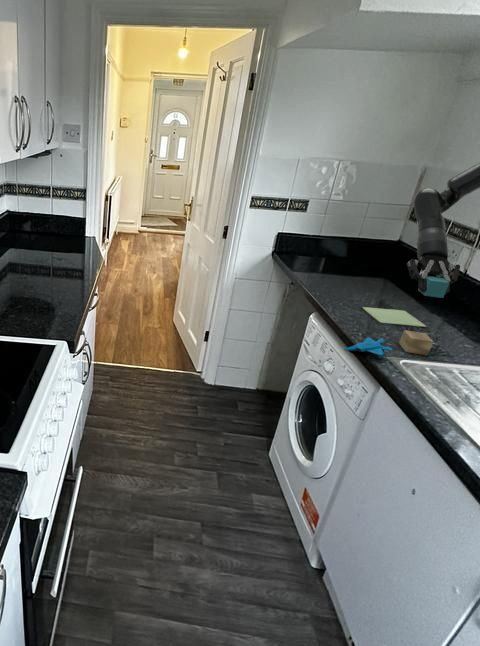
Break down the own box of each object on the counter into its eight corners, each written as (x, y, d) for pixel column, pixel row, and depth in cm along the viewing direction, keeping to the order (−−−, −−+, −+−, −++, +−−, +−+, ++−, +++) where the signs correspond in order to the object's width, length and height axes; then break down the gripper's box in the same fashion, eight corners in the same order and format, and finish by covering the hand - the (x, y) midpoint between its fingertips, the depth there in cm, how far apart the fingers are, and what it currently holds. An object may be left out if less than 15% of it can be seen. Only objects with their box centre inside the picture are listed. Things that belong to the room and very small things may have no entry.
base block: (419, 346, 135) (425, 333, 133) (427, 355, 130) (433, 341, 128) (398, 343, 136) (404, 329, 134) (405, 352, 131) (411, 338, 129)
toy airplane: (367, 344, 134) (371, 332, 132) (397, 359, 126) (402, 347, 124) (342, 350, 130) (346, 338, 128) (372, 366, 122) (376, 354, 120)
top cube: (435, 292, 130) (442, 277, 128) (443, 298, 126) (449, 282, 124) (417, 290, 132) (423, 275, 130) (424, 295, 127) (430, 280, 125)
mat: (404, 311, 162) (404, 310, 162) (426, 327, 149) (426, 326, 149) (361, 307, 163) (362, 306, 163) (380, 323, 150) (380, 322, 150)
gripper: (412, 236, 131) (414, 284, 125) (465, 241, 127) (469, 291, 122) (400, 248, 138) (401, 294, 132) (450, 253, 134) (453, 301, 128)
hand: (434, 292), depth 127 cm, fingers closed on top cube, 5 cm apart
